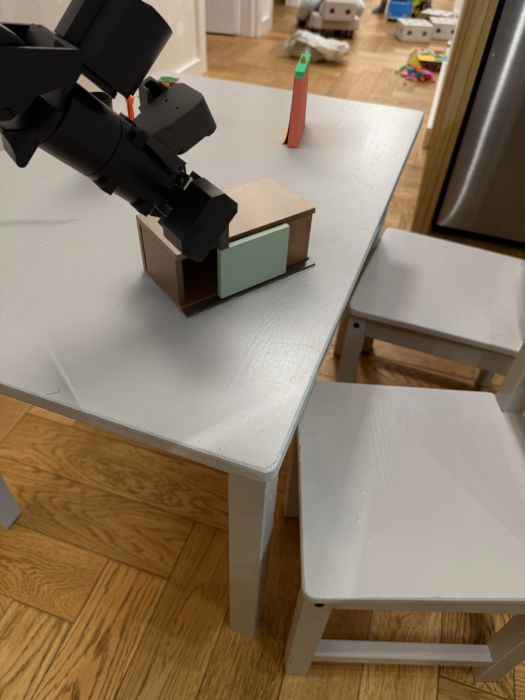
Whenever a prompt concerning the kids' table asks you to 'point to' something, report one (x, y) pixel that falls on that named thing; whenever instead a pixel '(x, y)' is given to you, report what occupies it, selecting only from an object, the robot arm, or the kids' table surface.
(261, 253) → the sliding door
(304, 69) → the building blocks
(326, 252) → the kids' table surface
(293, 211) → the cabinet
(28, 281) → the kids' table surface
